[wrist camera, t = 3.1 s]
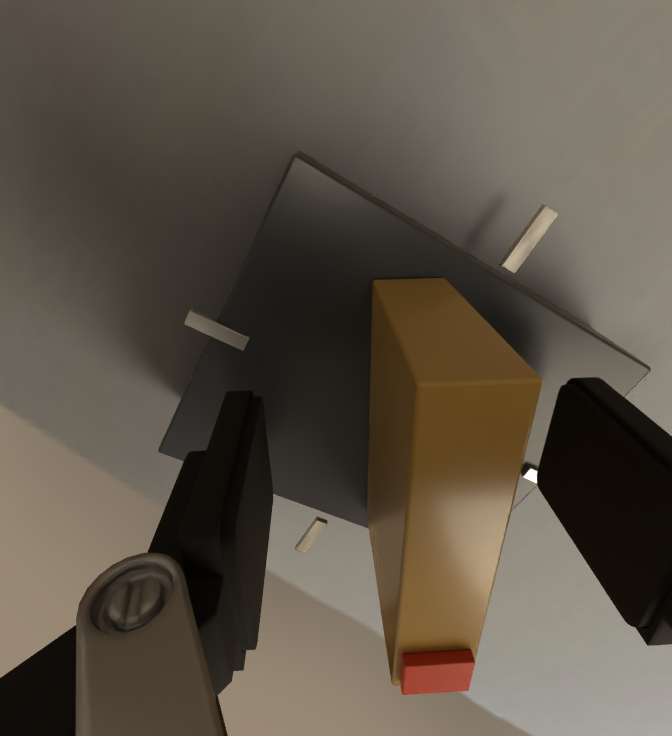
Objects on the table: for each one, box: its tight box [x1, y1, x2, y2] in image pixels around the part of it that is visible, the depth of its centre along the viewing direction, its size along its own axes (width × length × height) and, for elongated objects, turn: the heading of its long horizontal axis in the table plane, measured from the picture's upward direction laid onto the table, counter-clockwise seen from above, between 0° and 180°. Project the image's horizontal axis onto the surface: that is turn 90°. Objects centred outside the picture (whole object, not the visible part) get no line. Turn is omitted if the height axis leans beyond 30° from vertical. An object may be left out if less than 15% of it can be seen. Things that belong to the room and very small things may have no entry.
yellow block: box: [367, 278, 542, 695], centre depth 9 cm, size 7×2×5 cm, turn 1°
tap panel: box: [159, 151, 651, 553], centre depth 12 cm, size 11×11×3 cm
